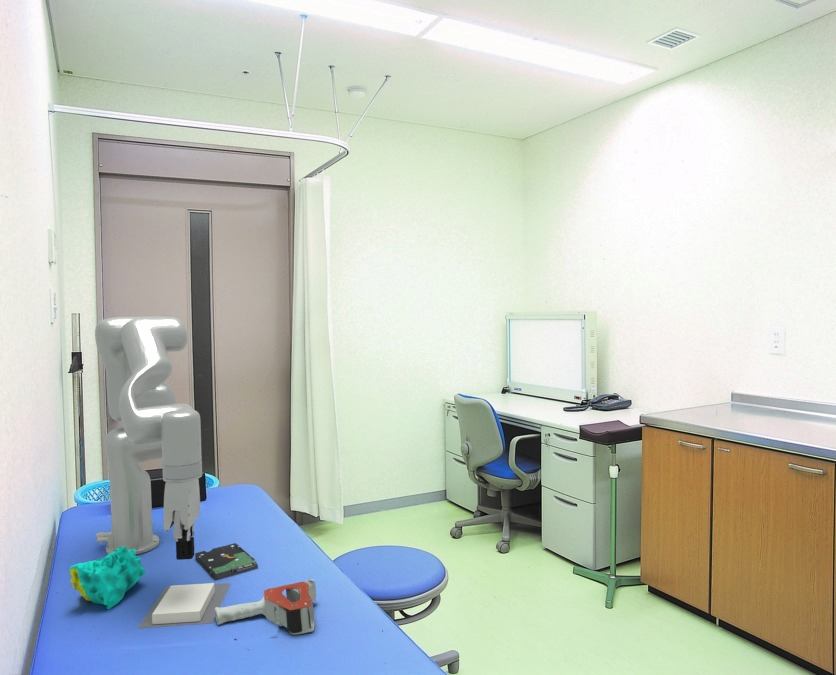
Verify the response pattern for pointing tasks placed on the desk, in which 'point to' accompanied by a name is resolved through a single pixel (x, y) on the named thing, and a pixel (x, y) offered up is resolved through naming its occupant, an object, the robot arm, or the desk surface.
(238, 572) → the disk drive
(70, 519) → the desk surface
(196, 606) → the tile
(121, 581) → the teal sponge
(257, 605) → the tape dispenser
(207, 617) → the mat
